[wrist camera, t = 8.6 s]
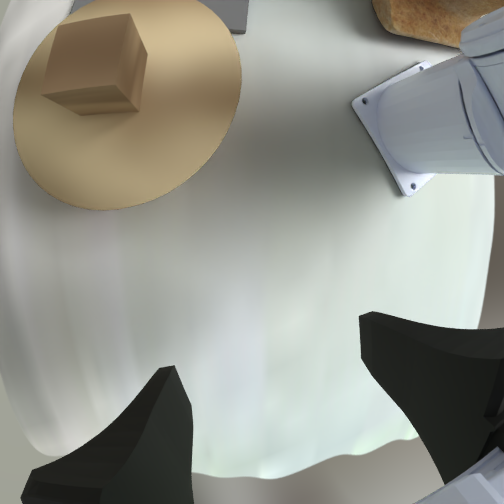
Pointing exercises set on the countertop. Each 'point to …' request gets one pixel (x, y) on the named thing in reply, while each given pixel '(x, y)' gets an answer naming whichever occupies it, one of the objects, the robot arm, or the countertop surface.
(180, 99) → the oak lid
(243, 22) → the charcoal mat
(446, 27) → the stone cup
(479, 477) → the robot arm
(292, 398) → the countertop surface
